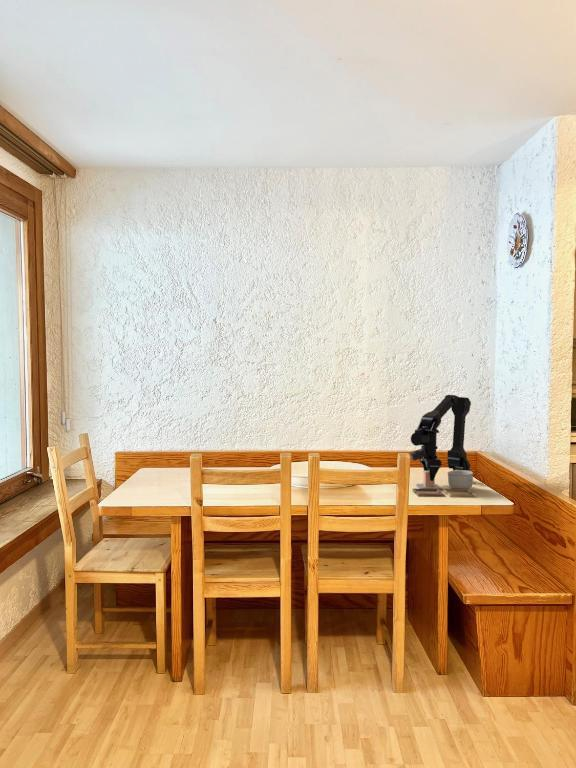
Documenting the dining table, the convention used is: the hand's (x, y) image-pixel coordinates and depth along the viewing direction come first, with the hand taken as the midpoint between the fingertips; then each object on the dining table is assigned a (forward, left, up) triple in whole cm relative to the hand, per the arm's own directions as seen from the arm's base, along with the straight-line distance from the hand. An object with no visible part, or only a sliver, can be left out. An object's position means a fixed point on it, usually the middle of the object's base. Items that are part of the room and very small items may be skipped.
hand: (429, 478), depth 290 cm
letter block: (0, 0, -3) cm, 3 cm away
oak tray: (+12, +10, -5) cm, 16 cm away
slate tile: (0, 0, -5) cm, 5 cm away
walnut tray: (+11, -3, -5) cm, 12 cm away
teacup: (-1, +14, -5) cm, 15 cm away
